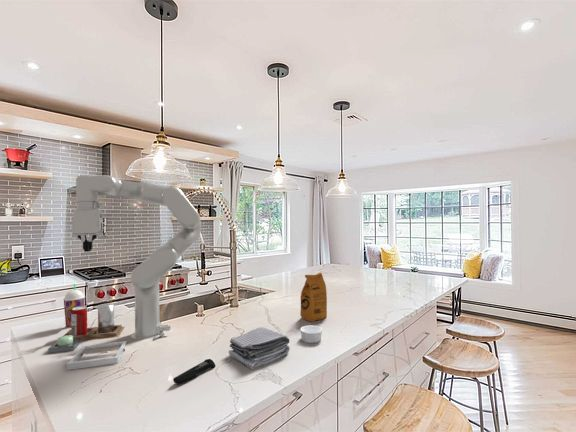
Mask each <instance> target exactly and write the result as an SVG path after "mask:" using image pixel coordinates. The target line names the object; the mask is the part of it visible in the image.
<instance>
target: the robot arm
mask: <svg viewBox="0 0 576 432" xmlns="http://www.w3.org/2000/svg"><path fill="white" fill-rule="evenodd" d="M75 181H76V182H75V184H76V185H75V189H76V191H75V193H76V194H75V195H76V196H75V197H76V199H75V201H76V202H75V203H76V204H75V205H76V208H75V209H74V210H73V215H72V220H71V221H72V222H71V231H72V233H71V237H72V238H76V239H79V240H80V241H81V242H82V250H83V252H84V253H86V252H88V253H89V252H92V250H93V241H95V239H97V238H100V237H103V236H104V234H103V232H104V222H103V213H102V211H101V209H99V208H101V207H103V203H102V202H101V203H100V201H99V193H101V194H106V195H110V196H115V197H119V198H126V199H130V200H135V201H138V202H141V203H147V204H152V205H159V206H162V207H163V206H164V207H167V208H168V211H170V213H171V214H172V216H174V218H175V219H176V220H177V222H178V223H179V225H180V226H181V228H180V230H179V231H178V232H177V233H175V234H174V235H173V237H171V238H170V239H169V240H168V241H166V243H164V244H163V245H160V246H159V247H158V248H157V249H156V250H154V252H152V253H151V254H150V255H149V256H148V257H147V258H146V259H144V260H143V261H142V262H141V263H140V264H138V265H137V266H136V267H134V269H133V270H132V272H131V275H130V281H131V284H132V285H133V286H134V332H132V334H131V336H130V337H131V338H132V339H135V340H148V339H152V340H153V341H154V340H157V339H159V338H161V337H162V336H163V335H164V331H165V332H169V331H171V325H169V324H164V325H163V324H162V323H161V322H160V283H161V282H160V280H161V278H163V277H164V276H165V275H166V274H167V273H168V272H169V271H171V269H173V267H175V265H176V264H177V263H178V260H179V259H180V258H181V257H182V256H183V255H184V254H185V253H186V252H187V251H188V250H189V249H190V248H191V247H192V246H193V245H194V244H195V243H196V242H197V241H198V239H199V237H200V235H201V232H202V222H201V215H200V213H199V212H198V211H197V209H196V208H195V206H193V204H192V202H190V200H189V199H188V198H187V197H186V195H185V194H184V192H183V190H181V189H180V187H177V186H166V185H161V184H156V183H151V182H147V181H144V182H143V181H142V182H135V181H129V180H126V179H125V180H124V179H119V178H116V177H114V176H113V175H109V174H103V175H102V174H101V175H85V174H84V175H83V174H82V175H78V176H77V177H76V179H75ZM87 235H88V237H87Z"/></svg>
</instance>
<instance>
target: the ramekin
mask: <svg viewBox="0 0 576 432" xmlns="http://www.w3.org/2000/svg"><path fill="white" fill-rule="evenodd" d="M322 332H323V328H322V327H320V326H318V325H317V326H316V325H309V324H308V325H303V326H301V327H300V336H301V340H302V342H305V343H307V344H317V343H319V342H320V341H322Z"/></svg>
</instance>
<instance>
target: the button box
mask: <svg viewBox="0 0 576 432" xmlns="http://www.w3.org/2000/svg"><path fill="white" fill-rule="evenodd" d="M81 343H82V341H81V338H75V339H73V343H72V344H71V345H65V346H58V339H57V340H56V341H55V342H54V343H53V344H52V345H51V346H50V347H48V348H47V352H48V354H57V353H65V352H67V353H68V352H74V351H75V350H76V349H77V348H78V346H79V345H80V344H81Z"/></svg>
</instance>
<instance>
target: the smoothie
mask: <svg viewBox="0 0 576 432" xmlns="http://www.w3.org/2000/svg"><path fill="white" fill-rule="evenodd" d="M85 304H86V295H85V293H83V292H82V291H81V290H80V289H76V283H73V289H72V290H70V291H68V292H67V293H66V294H65V296H64V298H63V309H64V319H65V320H64V321H65V322H64V323H65V326H66V327H67V328H71V312H72V309H73V308H75V307H80V306H85ZM85 307H86V306H85Z"/></svg>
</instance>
